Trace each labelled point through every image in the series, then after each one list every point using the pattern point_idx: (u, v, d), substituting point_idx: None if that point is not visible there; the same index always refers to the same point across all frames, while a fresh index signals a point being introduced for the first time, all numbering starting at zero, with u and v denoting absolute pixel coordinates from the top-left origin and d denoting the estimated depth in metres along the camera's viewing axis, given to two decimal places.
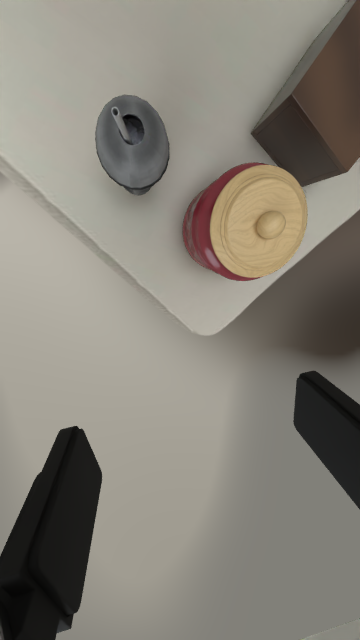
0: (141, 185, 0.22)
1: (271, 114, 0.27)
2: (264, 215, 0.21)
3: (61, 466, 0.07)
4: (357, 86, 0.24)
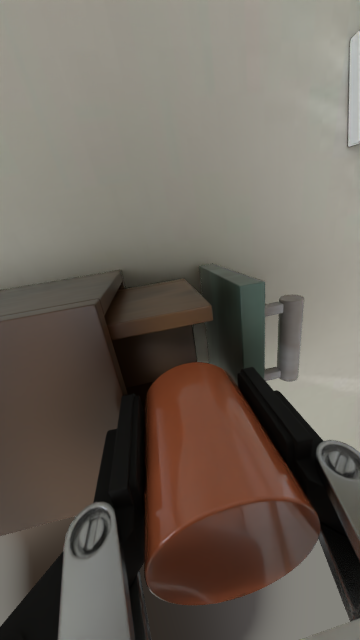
0: None
1: None
2: None
3: (132, 421, 0.08)
4: None
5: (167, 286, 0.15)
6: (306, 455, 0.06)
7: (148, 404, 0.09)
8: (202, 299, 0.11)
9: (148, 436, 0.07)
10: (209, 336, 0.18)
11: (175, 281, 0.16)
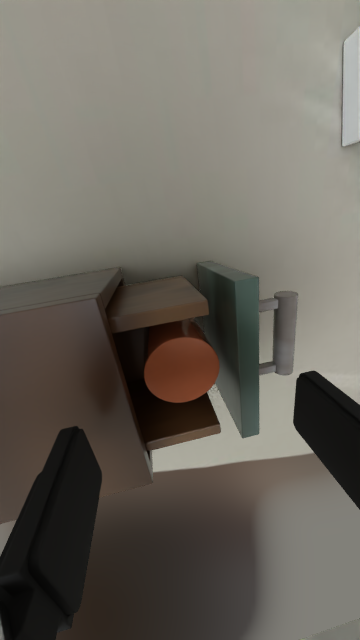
0: None
1: None
2: None
3: (61, 465, 0.07)
4: None
5: (165, 283, 0.15)
6: None
7: (146, 328, 0.16)
8: (199, 294, 0.11)
9: (145, 337, 0.15)
10: (207, 332, 0.18)
11: (173, 278, 0.16)
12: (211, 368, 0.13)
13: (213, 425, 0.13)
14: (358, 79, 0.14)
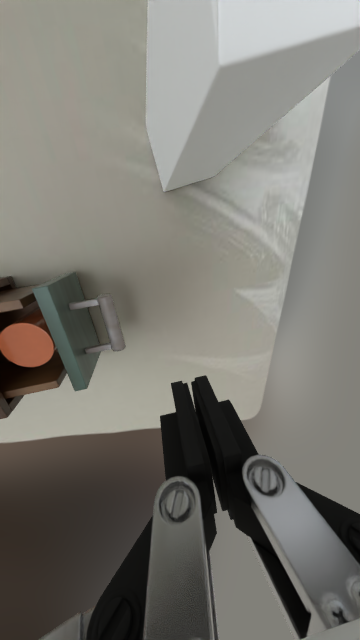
0: None
1: None
2: None
3: (188, 405, 0.08)
4: None
5: (31, 288, 0.22)
6: (236, 470, 0.06)
7: None
8: (24, 296, 0.18)
9: None
10: None
11: None
12: (47, 343, 0.20)
13: (51, 381, 0.20)
14: (154, 152, 0.21)
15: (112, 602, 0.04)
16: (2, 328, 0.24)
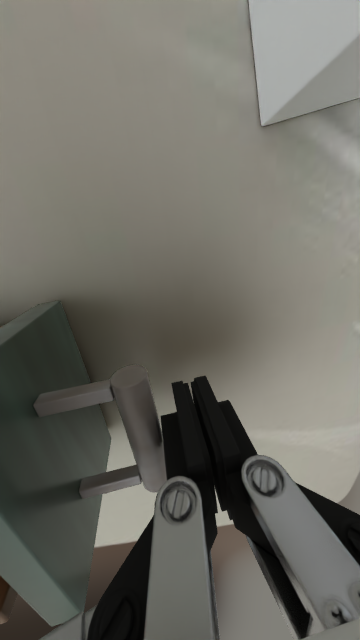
0: None
1: None
2: None
3: (189, 405, 0.08)
4: None
5: None
6: (235, 470, 0.06)
7: None
8: None
9: None
10: None
11: None
12: None
13: None
14: (265, 5, 0.08)
15: (113, 602, 0.04)
16: None
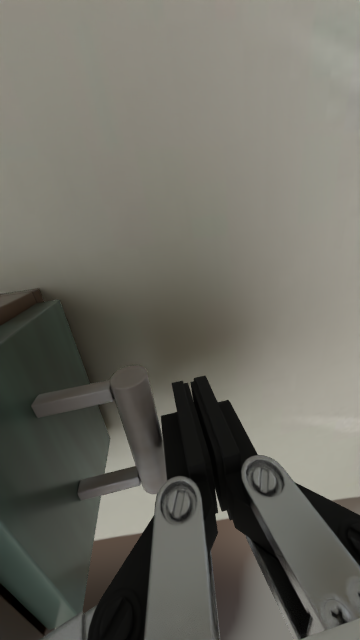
0: None
1: None
2: None
3: (189, 405, 0.08)
4: None
5: None
6: (235, 470, 0.06)
7: None
8: None
9: None
10: None
11: None
12: None
13: None
14: None
15: (113, 602, 0.04)
16: None
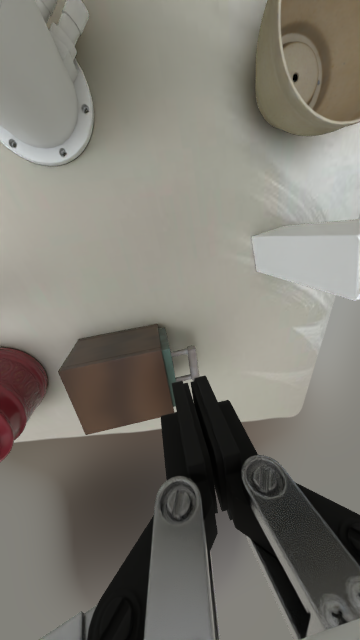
0: None
1: (68, 356, 0.31)
2: None
3: (189, 405, 0.08)
4: (113, 395, 0.30)
5: None
6: (235, 470, 0.06)
7: None
8: None
9: None
10: None
11: None
12: None
13: None
14: (256, 252, 0.35)
15: (113, 602, 0.04)
16: None
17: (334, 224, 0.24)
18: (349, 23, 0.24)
